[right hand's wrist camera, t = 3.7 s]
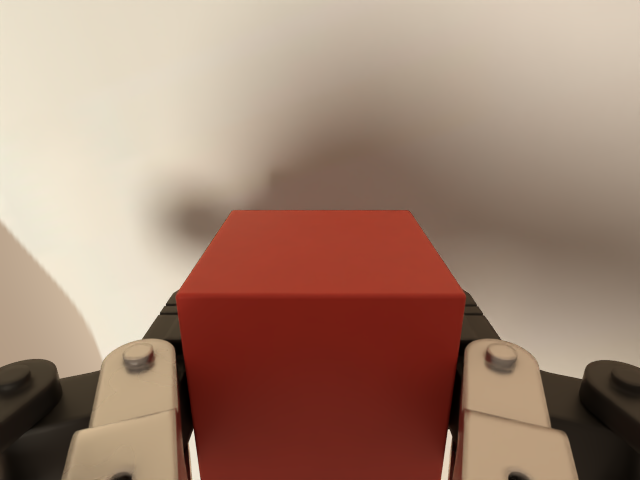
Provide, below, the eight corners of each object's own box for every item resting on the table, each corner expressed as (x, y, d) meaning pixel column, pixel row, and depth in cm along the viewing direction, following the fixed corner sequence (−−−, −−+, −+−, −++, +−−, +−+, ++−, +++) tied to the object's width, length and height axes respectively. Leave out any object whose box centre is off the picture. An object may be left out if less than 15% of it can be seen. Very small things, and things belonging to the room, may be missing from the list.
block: (410, 209, 11) (468, 294, 7) (398, 361, 13) (438, 508, 9) (231, 209, 11) (173, 294, 7) (243, 361, 13) (202, 507, 9)
